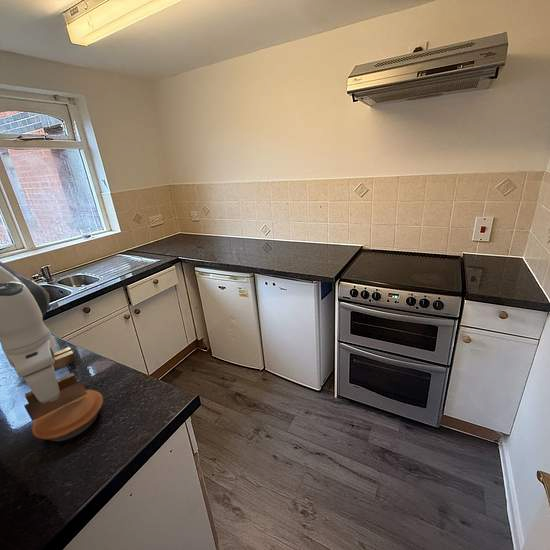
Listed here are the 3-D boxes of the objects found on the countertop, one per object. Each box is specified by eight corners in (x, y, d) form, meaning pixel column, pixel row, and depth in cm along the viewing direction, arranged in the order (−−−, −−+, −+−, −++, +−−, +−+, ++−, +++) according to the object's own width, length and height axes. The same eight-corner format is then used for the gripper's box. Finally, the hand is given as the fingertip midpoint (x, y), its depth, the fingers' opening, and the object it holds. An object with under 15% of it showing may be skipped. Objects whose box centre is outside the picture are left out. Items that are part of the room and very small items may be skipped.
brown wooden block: (32, 423, 72) (20, 399, 69) (31, 419, 73) (19, 396, 70) (87, 395, 79) (78, 373, 76) (86, 392, 80) (77, 370, 77)
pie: (23, 441, 73) (14, 426, 72) (80, 395, 87) (74, 382, 85) (65, 457, 68) (57, 441, 66) (119, 406, 81) (114, 391, 80)
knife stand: (27, 386, 93) (21, 374, 92) (25, 377, 98) (20, 366, 96) (77, 364, 102) (73, 353, 100) (74, 357, 106) (69, 346, 105)
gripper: (12, 339, 75) (34, 383, 80) (16, 375, 60) (42, 426, 65) (42, 328, 79) (61, 371, 84) (53, 360, 64) (75, 409, 69)
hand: (53, 395), depth 74 cm, fingers closed on brown wooden block, 2 cm apart
